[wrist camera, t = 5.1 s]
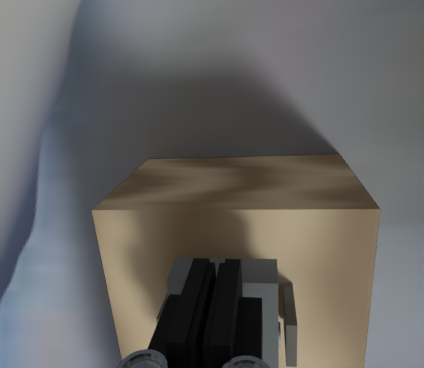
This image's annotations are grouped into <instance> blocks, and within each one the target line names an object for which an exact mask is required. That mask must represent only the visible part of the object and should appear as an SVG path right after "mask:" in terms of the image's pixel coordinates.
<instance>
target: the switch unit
mask: <svg viewBox="0 0 424 368" xmlns="http://www.w3.org/2000/svg"><path fill="white" fill-rule="evenodd" d="M92 215H93V220H94V225H95V230H96V235H97V239H98V244H99V249H100V254H101V259H102V264H103V269H104V274H105V279H106V284H107V289H108V294H109V299H110V304H111V308H112V313H113V318H114V323H115V328H116V333H117V338H118V343H119V348H120V353H121V358H122V360H123V359H124V358H125V357H127V356H128V355H129V354H131V353H133V352H136V351H139V350H144V349H147V348H148V346H149V343H150V341H151V338H152V336H153V333H154V331H155V328H156V326H157V323H158V321H159V318H160V316H161V313H162V311H163V308H164V306H165V303H166V301H167V298H168V289H167V282H166V280H167V278H168V275H169V273H170V270H171V268H172V266H173V263H174V261H175V258H176V257H190V258H245V259H277V269H278V322H280V327H281V347H279V368H364V363H365V354H366V344H367V334H368V325H369V315H370V305H371V296H372V286H373V277H374V267H375V257H376V248H377V238H378V228H379V219H380V208H379V207H378V205H377V204H376V202H375V201H374V200H373V198H372V197H371V196H370V194H369V193H368V192H367V190H366V189H365V188H364V186H363V185H362V183H361V182H360V181H359V179H358V178H357V177H356V175H355V174H354V173H353V171H352V170H351V168H350V167H349V166H348V164H347V163H346V162H345V160H344V159H343V158H342V156H341V155H340V154H327V155H290V156H254V157H217V158H181V159H148V160H147V161H146V162H145V163H143V164H142V165H141V166H140V167H139V168H138V169H137V170H136V171H135V172H134V173H132V174H131V175H130V176H129V177H128V178H127V179H126V180H125V181H124V182H122V183H121V184H120V185H119V186H118V187H117V188H116V189H115V190H114V191H112V192H111V193H110V194H109V195H108V196H107V197H106V198H105V199H104V200H102V201H101V202H100V203H99V204H98V205H97V206H96V207H95V208H94V209H92Z"/></svg>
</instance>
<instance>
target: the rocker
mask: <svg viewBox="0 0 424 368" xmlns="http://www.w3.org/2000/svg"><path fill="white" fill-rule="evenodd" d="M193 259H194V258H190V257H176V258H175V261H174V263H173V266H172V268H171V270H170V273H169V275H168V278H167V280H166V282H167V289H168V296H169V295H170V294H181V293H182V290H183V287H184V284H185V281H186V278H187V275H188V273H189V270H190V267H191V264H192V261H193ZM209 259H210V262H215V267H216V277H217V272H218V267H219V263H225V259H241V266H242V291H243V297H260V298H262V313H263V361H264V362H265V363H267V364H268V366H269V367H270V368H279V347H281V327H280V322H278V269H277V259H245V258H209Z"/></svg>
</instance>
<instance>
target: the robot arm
mask: <svg viewBox="0 0 424 368" xmlns="http://www.w3.org/2000/svg"><path fill="white" fill-rule="evenodd" d="M117 368H270V367H269V366H268V364H267V363H265V362H264V361H263V313H262V298H260V297H243V291H242V266H241V259H225V263H219V267H218V272H217V277H216V267H215V262H210V259H209V258H194V259H193V261H192V264H191V267H190V270H189V273H188V275H187V278H186V281H185V284H184V287H183V290H182V293H181V294H170V295H169V296H168V298H167V301H166V303H165V306H164V308H163V311H162V313H161V316H160V318H159V321H158V323H157V326H156V328H155V331H154V333H153V336H152V338H151V341H150V343H149V346H148V348H147V349H144V350H139V351H136V352H133V353H131V354H129V355H128V356H127V357H125V358H124V359H123V360H122V361H121V362H120V363H119V365H118V366H117Z"/></svg>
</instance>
